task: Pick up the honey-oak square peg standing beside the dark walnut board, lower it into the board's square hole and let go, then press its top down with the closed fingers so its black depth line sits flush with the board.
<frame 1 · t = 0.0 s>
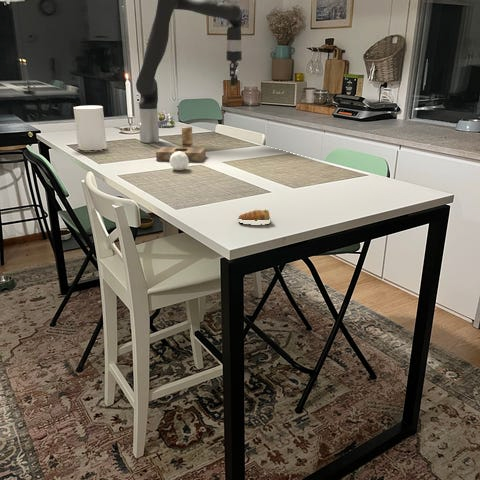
hand: (234, 85, 245), 29 cm above the table, fingers open, 8 cm apart
ball: (179, 170, 202), on the table
pastry: (256, 223, 142), on the table
canister: (92, 148, 242), on the table
peg: (187, 152, 233), on the table
passion flower: (164, 127, 308), on the table
board: (181, 158, 221), on the table
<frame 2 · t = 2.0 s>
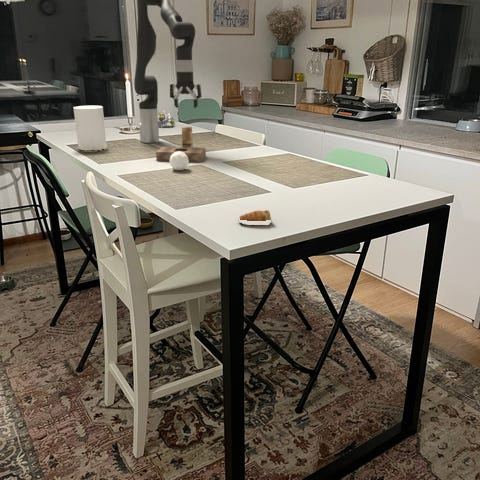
hand: (186, 107, 226), 21 cm above the table, fingers open, 8 cm apart
nothing on the table moved.
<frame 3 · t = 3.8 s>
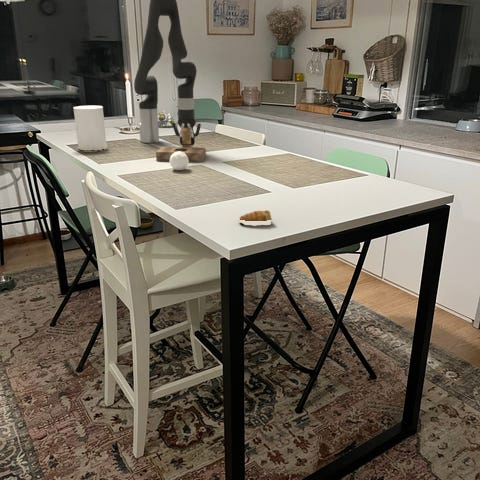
hand: (187, 144, 232), 4 cm above the table, fingers closed on peg, 4 cm apart
peg: (187, 152, 233), on the table, touching gripper
everything else where it was.
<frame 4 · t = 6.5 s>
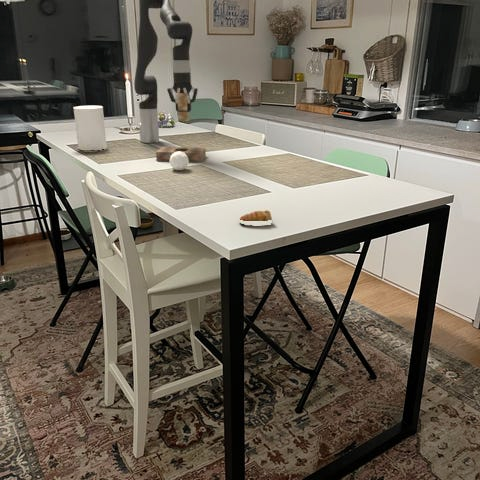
hand: (183, 111, 218), 20 cm above the table, fingers closed on peg, 4 cm apart
peg: (184, 120, 220), point 16 cm above the table, touching gripper
everything else where it was.
when the fingers open (6 cm above the table, at t = 9.2 s): peg drops 2 cm, resting in board.
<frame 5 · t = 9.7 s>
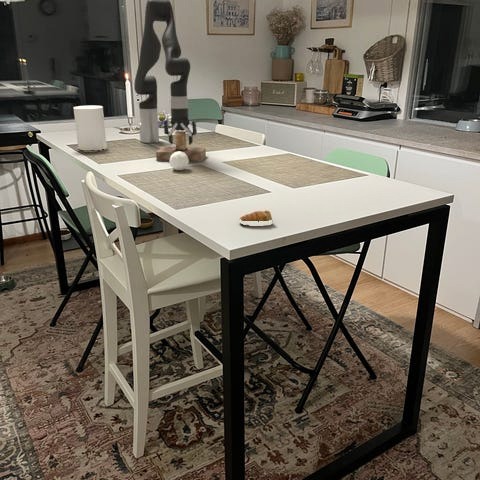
hand: (181, 144, 219), 7 cm above the table, fingers open, 8 cm apart
peg: (181, 158, 221), resting in board
everything else where it was.
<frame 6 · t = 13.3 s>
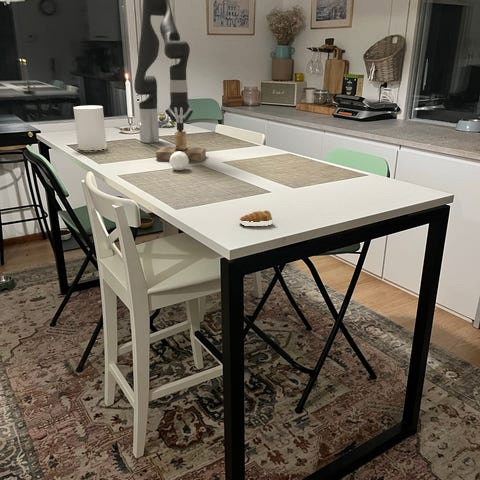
hand: (180, 131, 217), 12 cm above the table, fingers closed
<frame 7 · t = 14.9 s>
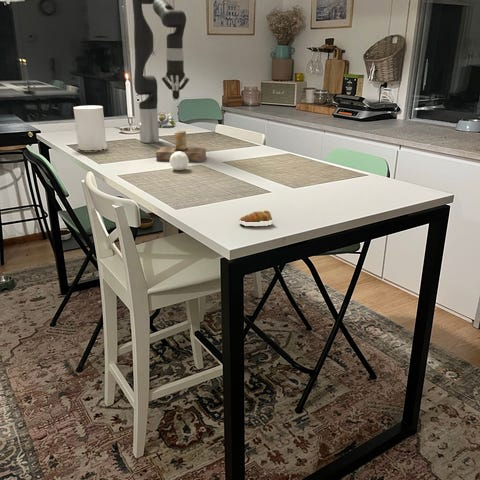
hand: (176, 99, 225), 25 cm above the table, fingers closed
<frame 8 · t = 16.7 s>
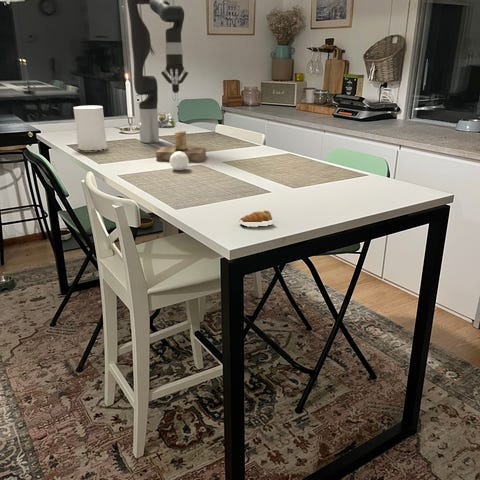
hand: (175, 92, 230), 27 cm above the table, fingers closed
at the end: peg 0.1 cm off-centre on the board, point 0.0 cm above the board's base; peg tilted 0°; the gripper is holding nothing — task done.
